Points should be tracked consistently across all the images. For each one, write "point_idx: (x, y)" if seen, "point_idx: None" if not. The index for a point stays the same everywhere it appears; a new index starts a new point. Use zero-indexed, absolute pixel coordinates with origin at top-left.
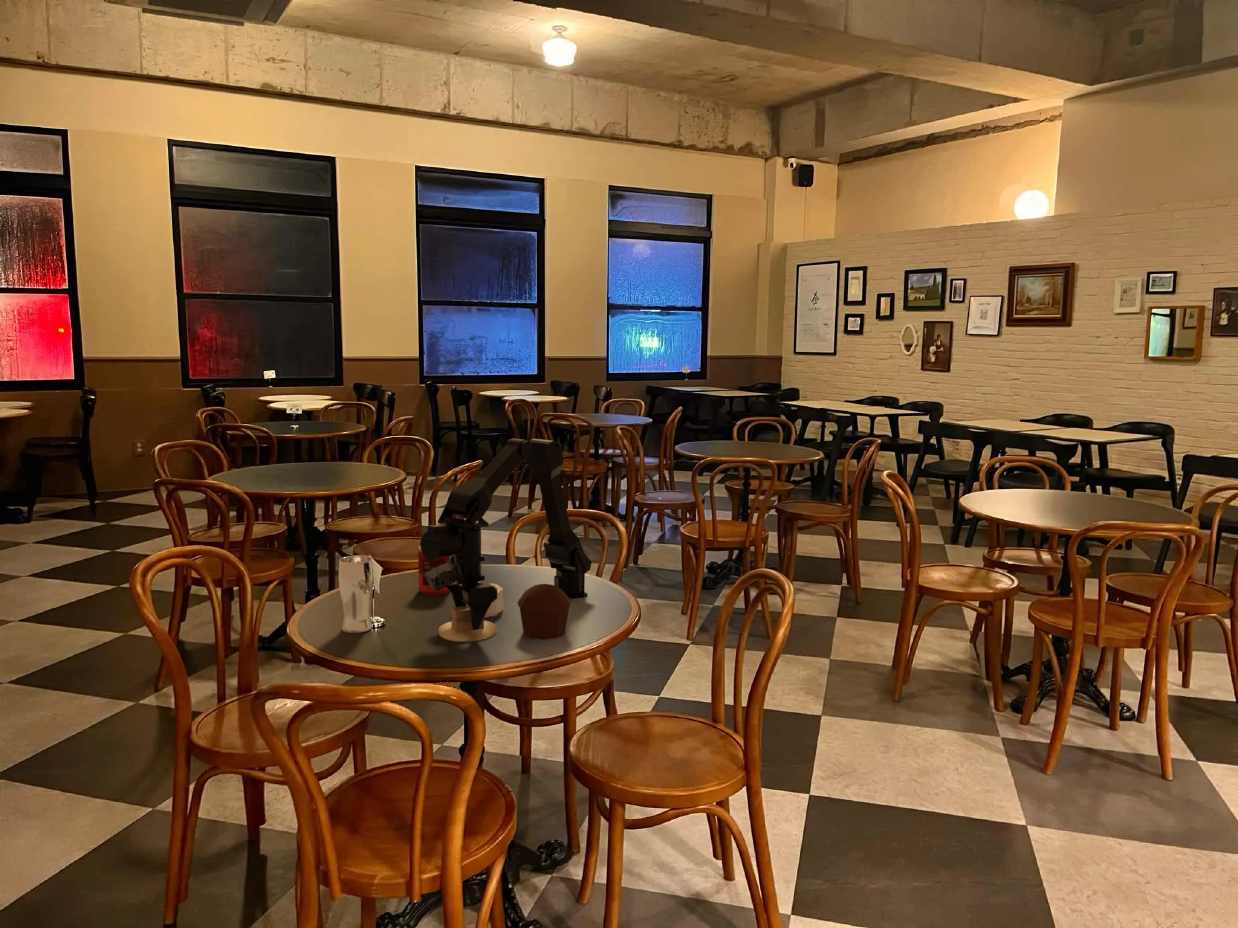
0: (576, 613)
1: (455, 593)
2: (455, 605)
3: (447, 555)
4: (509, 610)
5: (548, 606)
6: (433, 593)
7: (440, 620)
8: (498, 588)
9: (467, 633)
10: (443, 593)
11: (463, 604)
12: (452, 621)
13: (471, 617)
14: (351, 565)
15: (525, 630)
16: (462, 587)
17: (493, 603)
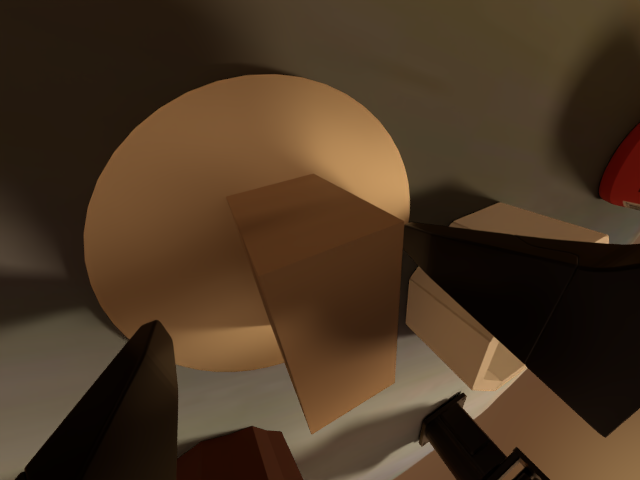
0: (343, 466)
1: (574, 288)
2: (466, 238)
3: None
4: (422, 346)
5: None
6: (624, 150)
7: (458, 134)
8: (505, 377)
9: (202, 260)
10: (603, 179)
11: (454, 283)
12: (316, 191)
13: (79, 425)
14: None
15: (186, 474)
16: (607, 364)
17: (440, 352)
